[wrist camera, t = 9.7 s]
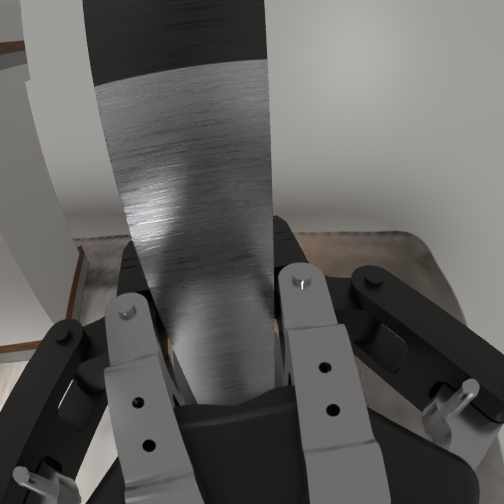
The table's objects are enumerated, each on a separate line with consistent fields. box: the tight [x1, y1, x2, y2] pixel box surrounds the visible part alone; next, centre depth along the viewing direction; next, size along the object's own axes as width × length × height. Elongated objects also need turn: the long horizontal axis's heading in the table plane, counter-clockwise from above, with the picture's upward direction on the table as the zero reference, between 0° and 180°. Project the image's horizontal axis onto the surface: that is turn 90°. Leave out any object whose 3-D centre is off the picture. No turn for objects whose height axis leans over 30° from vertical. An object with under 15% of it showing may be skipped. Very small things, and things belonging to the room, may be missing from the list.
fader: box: [82, 0, 283, 406], centre depth 9 cm, size 5×4×16 cm
